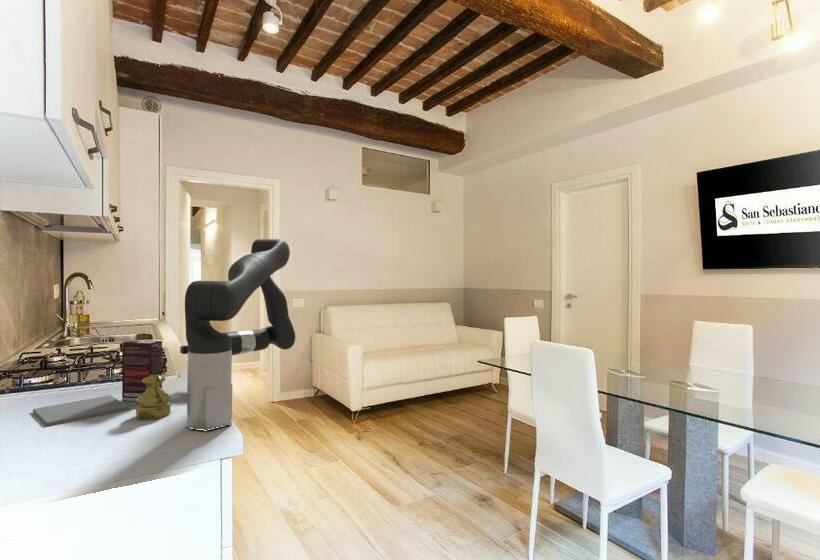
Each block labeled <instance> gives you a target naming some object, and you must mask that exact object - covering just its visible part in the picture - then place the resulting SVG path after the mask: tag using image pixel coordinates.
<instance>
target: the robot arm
mask: <svg viewBox="0 0 820 560" xmlns="http://www.w3.org/2000/svg"><path fill="white" fill-rule="evenodd" d="M250 251H251V253H249V254H246V255H244V256H242V257H240V258H239V259H237V260H236V261H235V262H233V264H231V266H230V267H229V269H228V272H227V279H228V280H195V281H192V282H191V283H190V284H189V285H188V286H187V288H186V290H185V291H186V292H185V296H184V317H185V340H186V343H187V345H181V346H180V347H179V352H180V354H183V355H186V354H187V387H186V388H187V393H186V394H187V395H186V396H187V397H186V398H187V401H186V403H187V405H186V406H187V407H186V409H187V411H186V412H187V414H186V415H187V416H186V427H187V426H188V427H190V428H193V429H204V430H208V429H212V428H216V427H221V426H225V427H227V426H226V425H229V426H231V425H232V424H233V384H232V367H233V366H232V360H233V359H232V358H233V356H237V355H243V354H248V353H252V352H259V351H263V350H266V349H267V348H268V347H269V346H270V345H274V346H276V347H277V348H279V349H281V350H283V351H284V350H289V349H291V348H292V347H293V346H294V344H295V342H296V331H295V330H294V326H293V323H292V321H291V319H290V316H289V309H288V302H287V298H286V296H285V294H284V292H283V291H282V289H280V288H279V286H278V285H277V284H276V282H275V281H274V280H273V278H272V277H271V276H272V275H273V274H274V273H275V272H277V271H279V270H280V269H283V268H284V267H285V266H286V265H287V263H288V262H289V259H290V253H291V252H290V251H291V250H290V247H289V244H288V243H287V241H285V240H283V239H279V238H259V239H256V240H254V241H253V243H252V245H251V250H250ZM259 288H260V289H261V292H262V294H263V299H264V303H265V309H266V310H265V311H266V316H267V317H266V318H267V321H268V323H269V324H270V325H268V326H265V327H263V328H259V329H252V330H237V331H228V332H220V331H218V330H217V329H215V328H214V327H213V326H212V325H211V322H224V321H230V320H232V319H234V318H235V317H236V316H237V315H238V314H239V312H240V311H241V310H242V308H243V306H244V305H245V303H246V302H247V301H248V299H249V298H250V297H251V296H252V294H253V293H255V292H256V290H257V289H259ZM231 420H232V421H231ZM188 427H187V428H188Z"/></svg>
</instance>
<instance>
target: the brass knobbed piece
mask: <svg viewBox="0 0 820 560" xmlns="http://www.w3.org/2000/svg"><path fill="white" fill-rule="evenodd" d="M165 381H166V377H165V376H164V375H163V374H162V375H158V374H150V375H149V376H147V377H145V378H143V379H142V383H144V384H146V385H147V390H146V391H145V392H144V393H143V394H142V395H140V396H139V397H138V398H137V399H136V401H135V405H137V406H136V408H135V417H136V418H137V419H138V420H143V419H149V420H156V419H155V418H157V419H161V418H163V416H164V417H166V416H168V415H169V414H171V411H172V410H171V405H172V404H171V403H170V402H171V399H172V396H171V394H170V393H168V392H166V391H165V390H164V389H163V388H162V389H161V388H160V385H161V383H162V384H163V382H165ZM160 417H161V418H160Z"/></svg>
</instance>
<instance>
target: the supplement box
mask: <svg viewBox="0 0 820 560" xmlns="http://www.w3.org/2000/svg"><path fill="white" fill-rule="evenodd" d="M121 347H122V348H121V349H122V351H121V353H122V355H121V357H122V359H121V361H122V363H121V364H122V365H121V367H122V370H121V371H122V374H121V375H122V379H121V380H122V383H121V384H122V385H121V387H122V388H121V389H122V390H121V395H122V396H121V397H122V398H121V400H122V401H128V402H129V401H130V402H136V399H137V398H138V397H139V396H140V395H142V394H143V393H144V392H145V391H146V390H147V385H146V384H144V383H142V379H143V378H145V377H147V376H149V375H150V374H158V375H162V376H163V340H150V339H149V340H146V339H145V340H144V339H132V340H131V339H130V340H126V341H123V342H122V345H121ZM160 388H161V389H162V390H163V382H162V383H161V385H160Z"/></svg>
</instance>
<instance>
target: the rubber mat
mask: <svg viewBox="0 0 820 560" xmlns="http://www.w3.org/2000/svg"><path fill="white" fill-rule="evenodd" d="M126 410H129V405H127V404H126V403H124V402H122V401H121V400H119V399H118V398H116V397H114V396H112V395H111V394H109V395H103V396H98V397H92V398H87V399H79V400H77V401H75V400H74V401H70V402H65V403H59V404H53V405H48V406H41V407H37V408H32V412H33V414H34V415H35V416H36V417H37V418H38V419H40V421H41V422H42V423H45V424H46V425H47V426H46V425H45V424H44V425H45V426H46V427H49V426H48V425H50V426H53V425H54V424H55V425H59V423H60V424H65V423H69V422H74V421H78V420H84V419H89V418H93V417H94V418H95V417H97V416H102V415H108V414H112V413H117V412H121V411H126Z"/></svg>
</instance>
